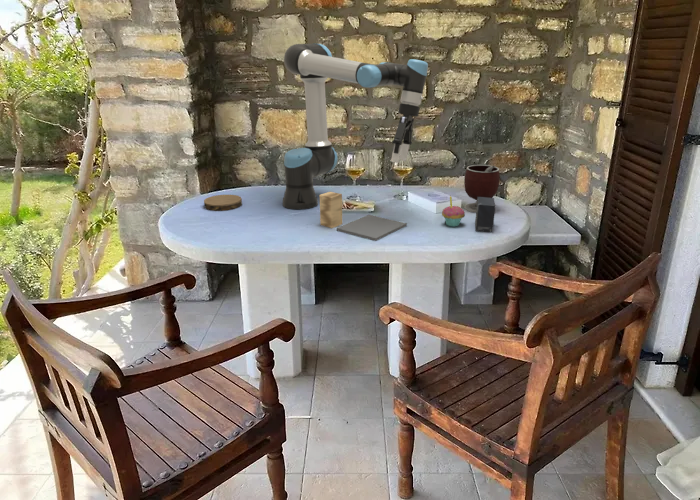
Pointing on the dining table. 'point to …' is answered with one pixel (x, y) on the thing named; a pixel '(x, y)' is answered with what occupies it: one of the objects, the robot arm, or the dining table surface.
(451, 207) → the cupcake
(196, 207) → the dining table surface
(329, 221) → the oak block
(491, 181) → the mate gourd
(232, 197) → the wood slice
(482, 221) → the small box
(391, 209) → the dining table surface
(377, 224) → the mat
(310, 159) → the robot arm
